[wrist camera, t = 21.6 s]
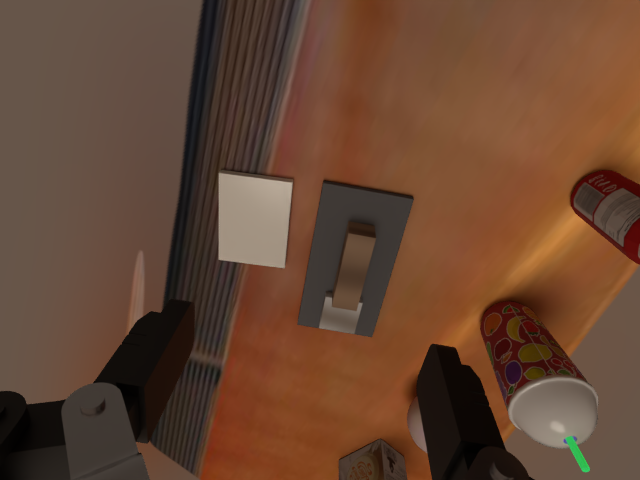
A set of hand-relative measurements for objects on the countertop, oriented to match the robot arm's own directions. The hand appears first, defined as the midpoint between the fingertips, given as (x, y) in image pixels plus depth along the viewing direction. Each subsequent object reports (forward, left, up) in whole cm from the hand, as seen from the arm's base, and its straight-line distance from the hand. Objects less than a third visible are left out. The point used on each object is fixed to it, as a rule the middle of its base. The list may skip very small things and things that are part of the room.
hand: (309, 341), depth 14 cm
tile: (+7, +7, -32) cm, 33 cm away
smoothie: (-26, +20, -32) cm, 46 cm away
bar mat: (-5, +16, -32) cm, 36 cm away
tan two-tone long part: (-5, +17, -31) cm, 36 cm away
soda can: (-29, +2, -32) cm, 43 cm away
